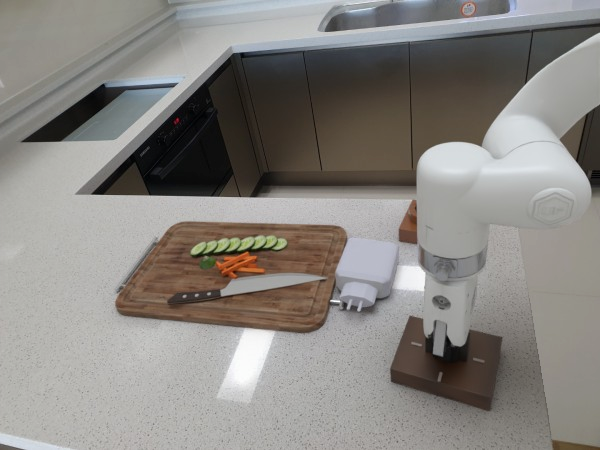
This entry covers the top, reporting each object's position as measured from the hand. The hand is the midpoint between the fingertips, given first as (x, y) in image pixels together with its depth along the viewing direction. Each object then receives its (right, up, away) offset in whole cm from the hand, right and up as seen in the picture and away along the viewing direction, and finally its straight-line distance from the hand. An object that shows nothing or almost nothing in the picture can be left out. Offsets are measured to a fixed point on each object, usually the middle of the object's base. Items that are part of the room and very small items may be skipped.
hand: (446, 351), depth 63 cm
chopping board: (-32, +8, +26) cm, 42 cm away
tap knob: (0, 0, 0) cm, 0 cm away
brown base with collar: (+6, +16, +26) cm, 31 cm away
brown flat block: (+1, -3, +2) cm, 3 cm away
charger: (-9, +6, +16) cm, 20 cm away
